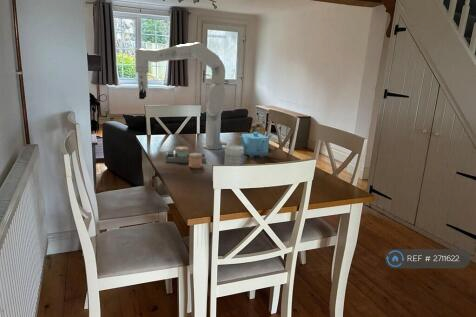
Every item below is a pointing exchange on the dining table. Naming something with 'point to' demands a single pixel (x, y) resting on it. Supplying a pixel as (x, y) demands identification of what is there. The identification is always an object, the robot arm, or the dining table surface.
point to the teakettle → (255, 144)
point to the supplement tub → (234, 155)
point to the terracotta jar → (195, 160)
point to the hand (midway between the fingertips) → (142, 98)
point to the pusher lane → (171, 158)
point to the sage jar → (182, 152)
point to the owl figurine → (257, 128)
